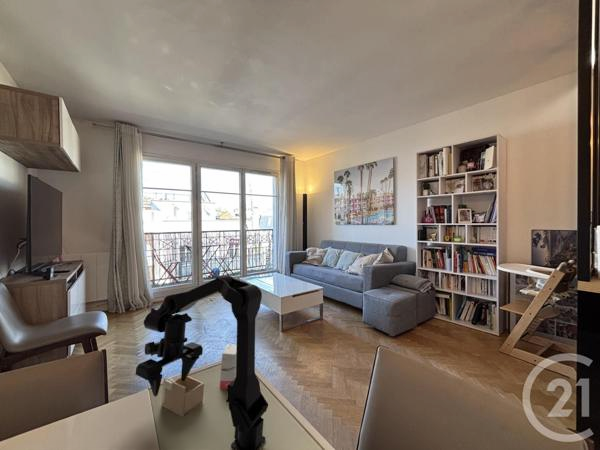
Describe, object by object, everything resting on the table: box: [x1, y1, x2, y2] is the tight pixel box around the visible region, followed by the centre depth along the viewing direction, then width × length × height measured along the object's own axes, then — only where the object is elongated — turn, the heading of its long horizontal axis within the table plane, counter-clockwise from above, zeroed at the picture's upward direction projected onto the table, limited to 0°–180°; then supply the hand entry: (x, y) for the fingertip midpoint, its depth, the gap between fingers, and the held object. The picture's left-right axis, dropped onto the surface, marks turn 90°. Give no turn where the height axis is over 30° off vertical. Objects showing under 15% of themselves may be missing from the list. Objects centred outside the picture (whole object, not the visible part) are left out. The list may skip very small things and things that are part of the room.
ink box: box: [219, 343, 237, 389], centre depth 91 cm, size 9×5×12 cm, turn 3°
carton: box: [174, 375, 205, 416], centre depth 78 cm, size 9×7×6 cm
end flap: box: [161, 377, 186, 418], centre depth 74 cm, size 9×2×8 cm, turn 63°
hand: (169, 387), depth 75 cm, fingers open, 9 cm apart
